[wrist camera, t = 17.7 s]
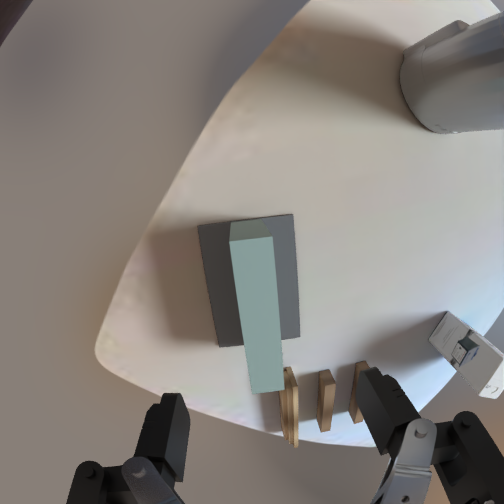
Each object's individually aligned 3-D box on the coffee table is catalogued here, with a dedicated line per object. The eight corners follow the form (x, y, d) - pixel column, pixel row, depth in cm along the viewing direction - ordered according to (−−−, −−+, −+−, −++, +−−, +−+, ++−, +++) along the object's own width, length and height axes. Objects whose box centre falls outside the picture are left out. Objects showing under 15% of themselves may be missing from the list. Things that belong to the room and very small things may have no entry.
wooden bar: (276, 367, 27) (282, 389, 24) (290, 365, 27) (297, 386, 24) (281, 430, 30) (286, 449, 27) (292, 428, 31) (298, 447, 27)
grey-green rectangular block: (229, 241, 16) (252, 394, 19) (272, 236, 16) (284, 389, 19) (230, 222, 22) (247, 344, 26) (261, 218, 22) (273, 341, 26)
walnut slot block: (319, 371, 28) (325, 385, 25) (365, 360, 28) (373, 373, 25) (316, 419, 30) (321, 432, 28) (356, 409, 30) (362, 421, 28)
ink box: (471, 326, 29) (520, 366, 17) (452, 355, 30) (497, 399, 18) (446, 309, 27) (505, 355, 16) (425, 342, 28) (477, 396, 17)
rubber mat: (197, 225, 23) (197, 226, 22) (292, 214, 23) (293, 214, 23) (219, 345, 26) (219, 347, 26) (299, 335, 26) (300, 337, 26)
